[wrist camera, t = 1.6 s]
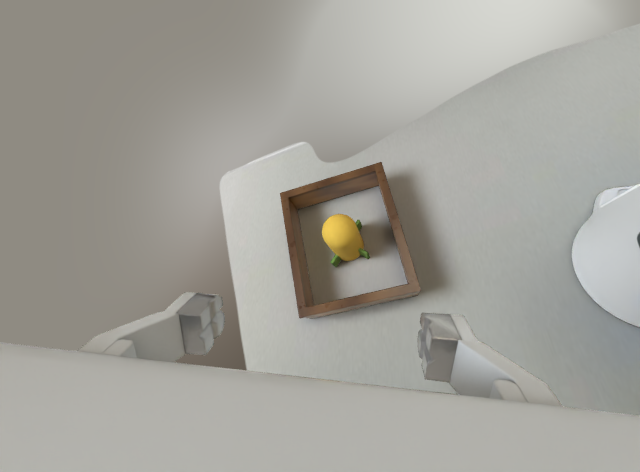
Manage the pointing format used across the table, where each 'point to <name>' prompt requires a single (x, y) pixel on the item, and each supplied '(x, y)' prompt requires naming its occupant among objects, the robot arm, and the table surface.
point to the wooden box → (290, 204)
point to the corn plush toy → (343, 238)
